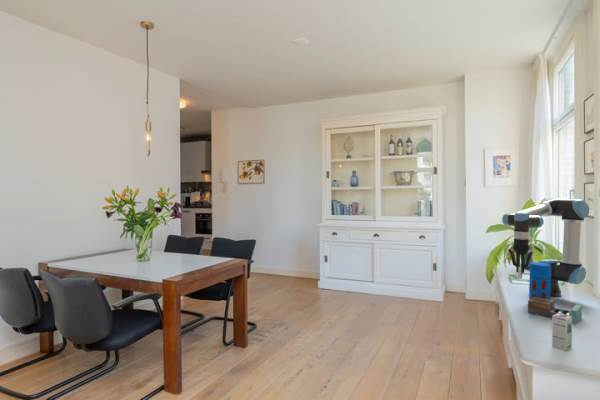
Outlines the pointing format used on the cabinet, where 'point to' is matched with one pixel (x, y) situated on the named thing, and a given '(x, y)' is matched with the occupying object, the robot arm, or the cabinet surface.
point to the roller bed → (550, 313)
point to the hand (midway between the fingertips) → (520, 278)
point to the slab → (541, 304)
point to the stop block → (576, 313)
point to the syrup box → (562, 331)
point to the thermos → (540, 280)
